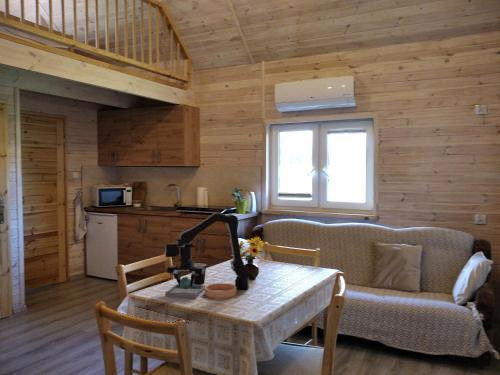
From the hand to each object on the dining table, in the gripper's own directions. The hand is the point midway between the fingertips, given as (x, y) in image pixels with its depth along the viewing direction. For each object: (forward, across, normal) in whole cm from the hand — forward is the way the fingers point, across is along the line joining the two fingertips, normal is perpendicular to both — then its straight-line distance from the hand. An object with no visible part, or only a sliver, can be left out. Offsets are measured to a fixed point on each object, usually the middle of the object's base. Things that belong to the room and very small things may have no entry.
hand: (185, 286), depth 219 cm
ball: (-2, 0, 0) cm, 2 cm away
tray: (+3, 0, 0) cm, 3 cm away
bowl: (+3, -18, -1) cm, 18 cm away
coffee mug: (+3, -1, -21) cm, 21 cm away
